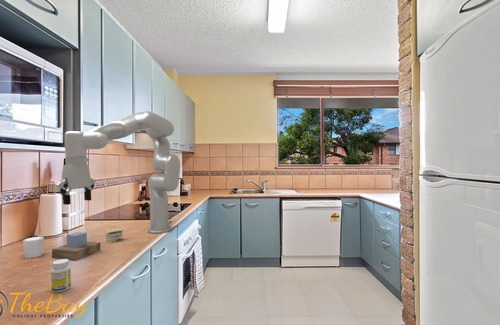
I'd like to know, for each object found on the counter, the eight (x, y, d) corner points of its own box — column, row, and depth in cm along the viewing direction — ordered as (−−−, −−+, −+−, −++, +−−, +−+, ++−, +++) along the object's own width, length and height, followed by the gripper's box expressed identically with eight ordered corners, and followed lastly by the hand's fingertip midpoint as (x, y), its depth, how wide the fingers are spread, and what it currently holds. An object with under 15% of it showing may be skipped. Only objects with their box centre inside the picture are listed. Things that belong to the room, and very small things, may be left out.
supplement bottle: (62, 284, 84) (62, 257, 84) (74, 286, 83) (74, 259, 83) (47, 291, 80) (47, 263, 80) (59, 293, 78) (59, 264, 78)
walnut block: (78, 249, 119) (78, 240, 119) (100, 252, 116) (100, 242, 116) (52, 259, 108) (51, 249, 108) (75, 262, 104) (75, 251, 104)
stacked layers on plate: (112, 245, 124) (111, 233, 124) (98, 243, 128) (98, 231, 128) (129, 239, 134) (129, 228, 133) (117, 237, 137) (116, 226, 137)
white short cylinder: (27, 253, 113) (26, 237, 113) (46, 251, 115) (46, 235, 115) (19, 259, 106) (19, 241, 106) (40, 257, 109) (40, 239, 109)
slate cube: (78, 243, 115) (77, 231, 115) (86, 244, 114) (86, 232, 113) (66, 247, 110) (66, 234, 110) (75, 248, 109) (75, 235, 109)
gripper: (87, 160, 121) (88, 198, 121) (48, 161, 104) (50, 205, 105) (100, 160, 119) (101, 199, 119) (63, 161, 102) (65, 206, 103)
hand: (77, 202), depth 112 cm, fingers open, 9 cm apart
